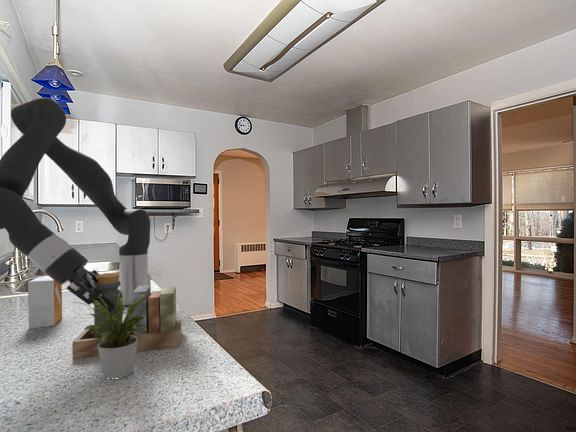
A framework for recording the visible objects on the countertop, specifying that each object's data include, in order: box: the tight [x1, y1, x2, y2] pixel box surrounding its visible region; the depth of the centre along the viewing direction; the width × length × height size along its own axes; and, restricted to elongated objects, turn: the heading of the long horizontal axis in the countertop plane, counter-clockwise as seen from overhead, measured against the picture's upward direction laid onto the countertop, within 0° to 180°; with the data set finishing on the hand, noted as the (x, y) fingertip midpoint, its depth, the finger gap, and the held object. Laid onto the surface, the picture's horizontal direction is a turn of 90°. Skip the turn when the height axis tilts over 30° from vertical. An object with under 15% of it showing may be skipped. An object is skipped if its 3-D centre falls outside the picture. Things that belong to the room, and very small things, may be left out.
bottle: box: [93, 272, 123, 338], centre depth 80 cm, size 6×6×15 cm
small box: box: [27, 276, 63, 329], centre depth 98 cm, size 8×6×13 cm
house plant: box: [72, 290, 149, 379], centre depth 65 cm, size 14×14×16 cm
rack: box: [71, 285, 182, 359], centre depth 81 cm, size 22×10×13 cm, turn 105°
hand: (116, 306), depth 80 cm, fingers closed on bottle, 6 cm apart
